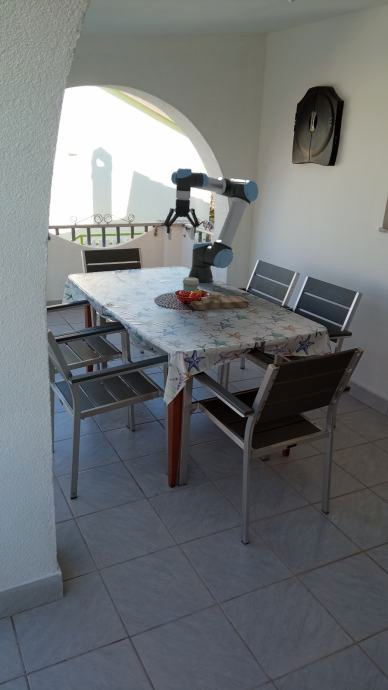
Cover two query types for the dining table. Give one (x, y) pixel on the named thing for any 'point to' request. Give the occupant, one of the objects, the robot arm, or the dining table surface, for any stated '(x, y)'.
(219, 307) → the board
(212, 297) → the gauge
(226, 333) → the dining table surface
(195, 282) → the coffee cup
